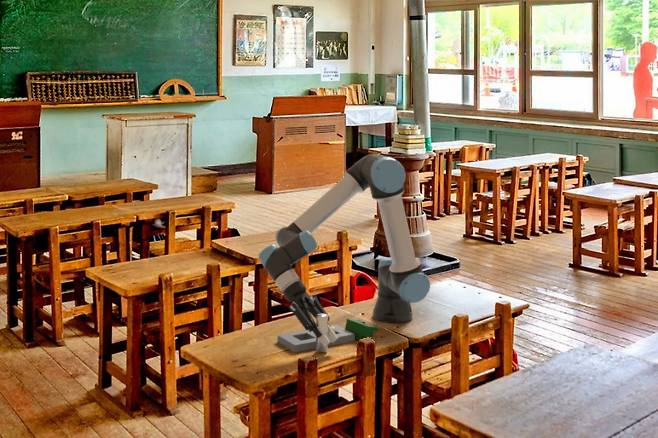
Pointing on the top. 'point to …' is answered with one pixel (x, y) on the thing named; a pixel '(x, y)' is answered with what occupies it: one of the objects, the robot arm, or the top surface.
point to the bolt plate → (312, 339)
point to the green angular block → (360, 328)
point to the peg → (323, 323)
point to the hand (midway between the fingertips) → (331, 342)
